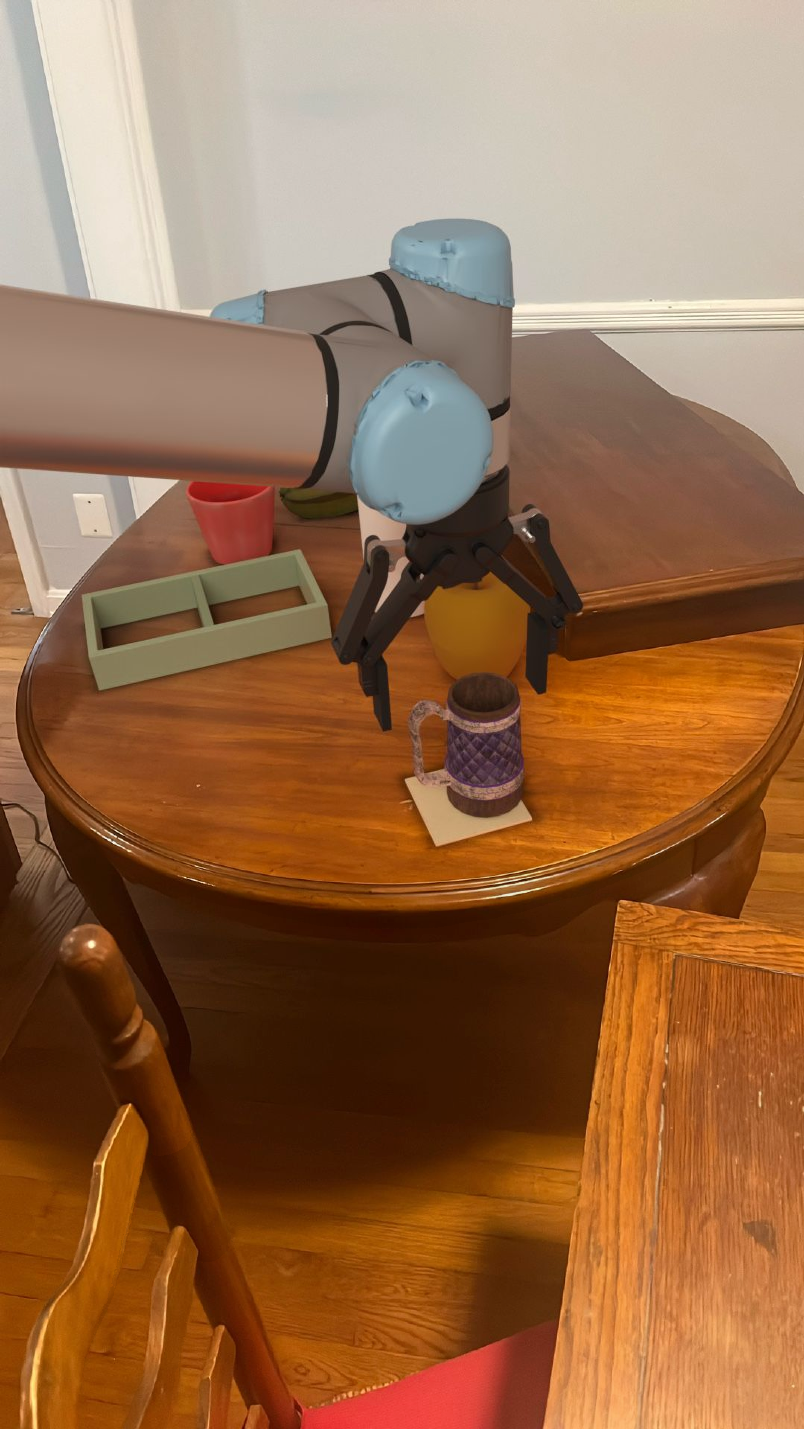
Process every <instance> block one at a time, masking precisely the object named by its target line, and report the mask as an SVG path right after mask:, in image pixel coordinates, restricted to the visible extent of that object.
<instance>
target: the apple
mask: <svg viewBox="0 0 804 1429" xmlns="http://www.w3.org/2000/svg"><path fill="white" fill-rule="evenodd" d="M527 613H531V607H530V606H529V605H528V604H527V603H526V602H525V601H524V600H523V599H521V598H520V597H519V596H518V595H517V594H516V593H515V592H514V591H512V590H511V589H510V588H509V587H508V586H507V585H506V584H504V583H502V582H501V581H500V580H499V579H498V578H497V577H496V576H495V575H494V574H492V573H491V572H489V574H487V575H486V576H485V577H483V578H482V581H481V582H476V583H462V584H459V585H457V586H455V587H453V588H448V589H443V588H442V587H440V586H438V587H437V588H436V589H435V591H434V592H433V593H432V595H431V596H430V597H429V599H428V600H426V601H425V604H424V614H423V615H424V616H423V617H424V624H425V627H426V631H427V635H428V638H429V641H430V644H431V647H432V650H433V653H434V654H435V656H436V658H437V660H438V662H439V663H440V665H441V667H442V668H443V669H444V671H445V672H446V673H447V674H448V675H449V677H451V678H453V679H455V681H457V680H458V679H460V678H461V677H463V676H466V675H469V674H472V673H480V672H488V673H495V674H499V675H503V676H504V677H506V678H508V677H509V676H510V675H511V673H512V671H513V670H514V669H515V667H516V666H517V664H518V663H519V660H520V658H521V656H522V654H523V652H524V650H525V648H526V644H527Z"/></svg>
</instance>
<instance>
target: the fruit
mask: <svg viewBox="0 0 804 1429" xmlns="http://www.w3.org/2000/svg"><path fill="white" fill-rule="evenodd" d="M278 493H279V498H280V501H281V502H282V504H283V505H284V507H285V508H286V509H287V510H288V511H289V512H290V513H292V514H294V515H296V516H298V517H301V518H305V519H313V520H314V519H317V520H318V519H324V518H325V519H326V518H335V517H341V516H344V515H347V514H350V513H353V512H357V511H359V509H358V499H357V494H353V493H344V492H331V491H321V490H311V489H299V488H285V487H279V491H278Z"/></svg>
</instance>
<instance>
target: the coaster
mask: <svg viewBox="0 0 804 1429" xmlns="http://www.w3.org/2000/svg"><path fill="white" fill-rule="evenodd" d="M440 772H445V768H442V769H438V770H434V771H430V772H426V773H427V774H434V773H440ZM404 782H405V784H406V786H407V788H408V791H409V793H410V795H411V797H412V799H413V801H414V803H415V805H416V808H417V810H418V812H419V814H420V817H421V818H422V820H423V822H424V824H425V826H426V828H427V830H428V833H429V835H430V837H431V839H432V842H433V843H434V845H435V847H436V848H437V847H441V846H444V845H447V844H451V843H454V842H459V841H461V840H465V839H466V840H467V839H469V838H473V837H476V836H479V835H480V836H481V835H484V834H487V833H491V832H494V831H495V832H496V831H498V830H502V829H504V828H505V829H506V828H509V827H513V826H516V825H519V824H520V825H521V824H523V823H528V822H531V821H533V817H532V815H531V814H530V811H528V808H527V807H526V805H525V804H524V802H523V800H522V799H521V801H520V802H519V804H518V805H517V806H516V807H515V808H514V809H512V810H511V811H510V812H508V813H505V814H503V815H500V816H497V817H490V818H480V817H473V816H470V815H467V814H464V813H462V812H460V811H459V810H457V809H456V808H454V806H453V805H452V804H451V803H450V801H449V799H448V796H447V786H438V787H429V786H424V785H422V784H421V783H420V782H419V781H418V779H417V777H416V775H415V776H411V777H407V778H405V779H404Z"/></svg>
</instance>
